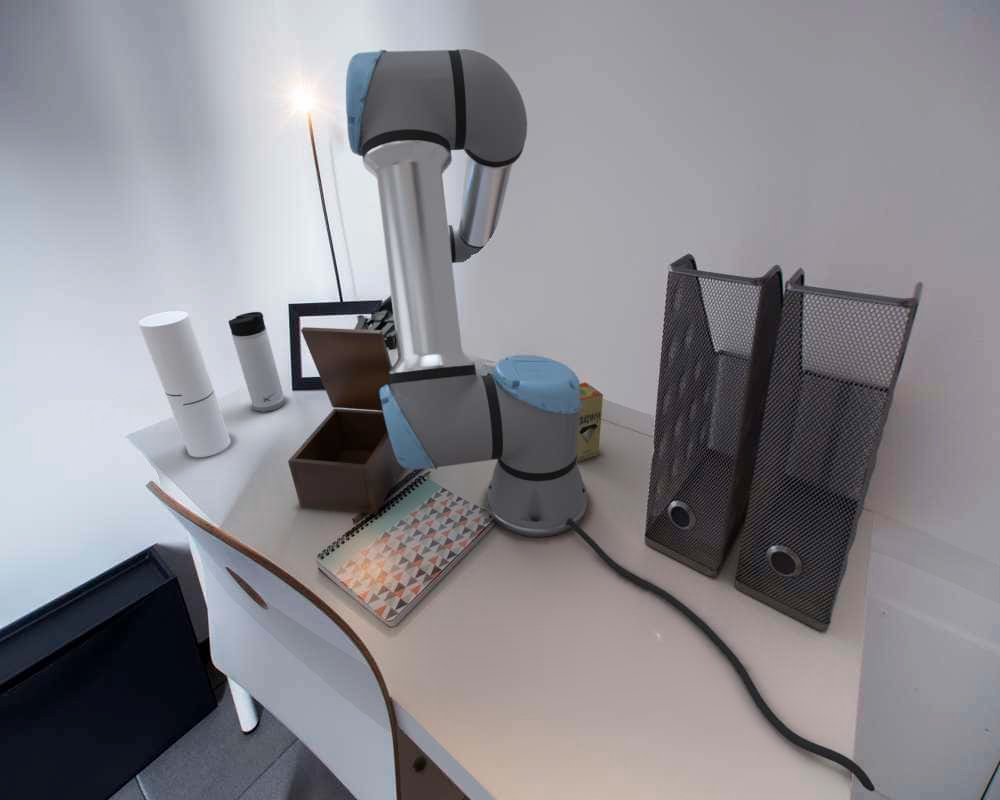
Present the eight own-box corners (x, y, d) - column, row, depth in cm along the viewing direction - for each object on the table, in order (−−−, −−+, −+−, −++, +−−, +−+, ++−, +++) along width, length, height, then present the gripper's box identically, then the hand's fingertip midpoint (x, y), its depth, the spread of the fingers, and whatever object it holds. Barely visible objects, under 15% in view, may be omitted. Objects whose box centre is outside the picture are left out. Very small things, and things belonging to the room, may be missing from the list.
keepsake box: (376, 514, 80) (368, 468, 76) (300, 507, 82) (287, 461, 78) (409, 455, 94) (403, 412, 89) (342, 450, 96) (334, 408, 91)
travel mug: (276, 413, 108) (250, 321, 98) (247, 411, 109) (219, 319, 99) (292, 398, 113) (269, 309, 103) (264, 396, 114) (239, 308, 105)
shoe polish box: (598, 454, 92) (602, 394, 86) (574, 462, 90) (577, 401, 85) (582, 440, 96) (585, 382, 90) (559, 448, 94) (560, 389, 88)
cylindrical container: (201, 435, 101) (155, 311, 89) (237, 435, 101) (196, 310, 89) (180, 457, 95) (128, 326, 83) (218, 457, 95) (172, 326, 82)
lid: (380, 333, 77) (382, 330, 78) (300, 330, 79) (303, 326, 80) (402, 412, 89) (404, 408, 89) (332, 407, 91) (334, 404, 91)
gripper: (437, 329, 105) (396, 383, 85) (375, 326, 107) (321, 379, 87) (433, 292, 101) (390, 340, 81) (369, 290, 103) (312, 336, 83)
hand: (355, 360), depth 84 cm, fingers closed
